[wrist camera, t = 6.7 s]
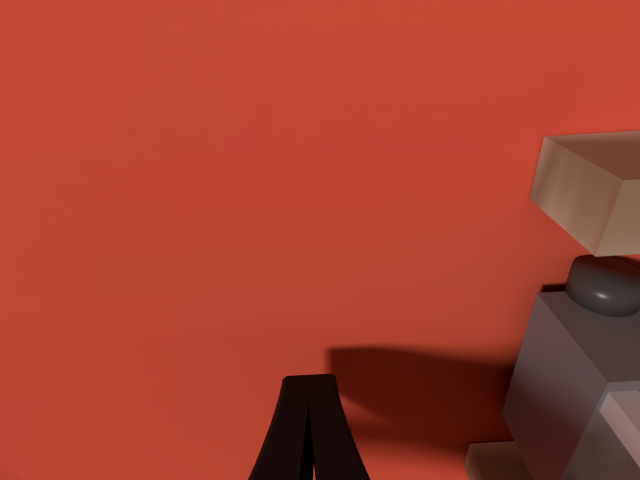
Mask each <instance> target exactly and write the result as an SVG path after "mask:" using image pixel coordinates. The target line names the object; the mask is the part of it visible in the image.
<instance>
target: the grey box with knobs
mask: <svg viewBox="0 0 640 480" xmlns="http://www.w3.org/2000/svg"><path fill="white" fill-rule="evenodd" d="M502 416H503V418H504V420H505V422H506V424H507V426H508V428H509V430H510V432H511V435H512V437H513V439H514V441H515V443H516V445H517V447H518V449H519V451H520V454H521V456H522V458H523V460H524V462H525V464H526V466H527V468H528V470H529V473H530V475H531V477H532V479H533V480H640V268H638V267H636V266H634V265H632V264H630V263H628V262H626V261H623V260H620V259H617V258H613V257H608V256H599V257H595V256H594V255H586V256H582V257H579V258H577V259H575V260H574V261H573V263H572V266H571V269H570V272H569V275H568V278H567V281H566V284H565V291H560V292H543V293H537V294H536V297H535V301H534V304H533V308H532V311H531V314H530V318H529V321H528V325H527V328H526V331H525V335H524V338H523V342H522V345H521V348H520V352H519V355H518V359H517V362H516V366H515V369H514V372H513V376H512V379H511V383H510V386H509V389H508V393H507V396H506V400H505V403H504V406H503V410H502Z"/></svg>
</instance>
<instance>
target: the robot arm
mask: <svg viewBox="0 0 640 480" xmlns="http://www.w3.org/2000/svg"><path fill="white" fill-rule="evenodd" d="M314 467H315V477H316V480H370V478H369V476H368V473H367V471H366V469H365V467H364V464H363V462H362V460H361V457H360V455H359V452H358V450H357V447H356V444H355V442H354V439H353V437H352V434H351V432H350V429H349V426H348V423H347V420H346V417H345V414H344V411H343V408H342V404H341V401H340V397H339V393H338V388H337V383H336V376H334V375H333V374H317V375H297V376H286V377H285V378H284V379H283V381H282V386H281V391H280V395H279V399H278V402H277V405H276V409H275V412H274V415H273V418H272V421H271V424H270V427H269V430H268V432H267V435H266V437H265V440H264V443H263V445H262V448H261V451H260V453H259V456H258V458H257V461H256V463H255V465H254V468H253V470H252V472H251V474H250V477H249V479H248V480H313V468H314Z"/></svg>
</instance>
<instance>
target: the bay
mask: <svg viewBox="0 0 640 480" xmlns="http://www.w3.org/2000/svg"><path fill="white" fill-rule="evenodd" d="M529 199H530V200H531V201H532V202H533V203H534V204H536V205H537V206H538V207H539V208H540V209H541V210H542V211H544V212H545V213H546V214H547V215H548V216H549V217H550V218H552V219H553V220H554V221H555V222H556V223H557V224H558V225H560V226H561V227H562V228H563V229H564V230H565V231H566V232H568V233H569V234H570V235H571V236H572V237H573V238H574V239H576V240H577V241H578V242H579V243H580V244H581V245H582V246H584V247H585V248H586V249H587V250H588V251H589V252H590V253H592V254H593V255H594V256H595V257H599V256H615V255H632V254H640V130H639V131H623V132H607V133H591V134H575V135H560V136H544V140H543V144H542V148H541V152H540V156H539V160H538V164H537V168H536V173H535V177H534V181H533V185H532V189H531V193H530V197H529ZM464 468H465V471H466V473H467V476H468V479H469V480H533V479H532V477H531V475H530V473H529V470H528V468H527V466H526V464H525V462H524V460H523V458H522V456H521V454H520V451H519V449H518V447H517V445H516V443H515V441H506V442H488V443H471V444H469V447H468V451H467V456H466V460H465V464H464Z"/></svg>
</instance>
